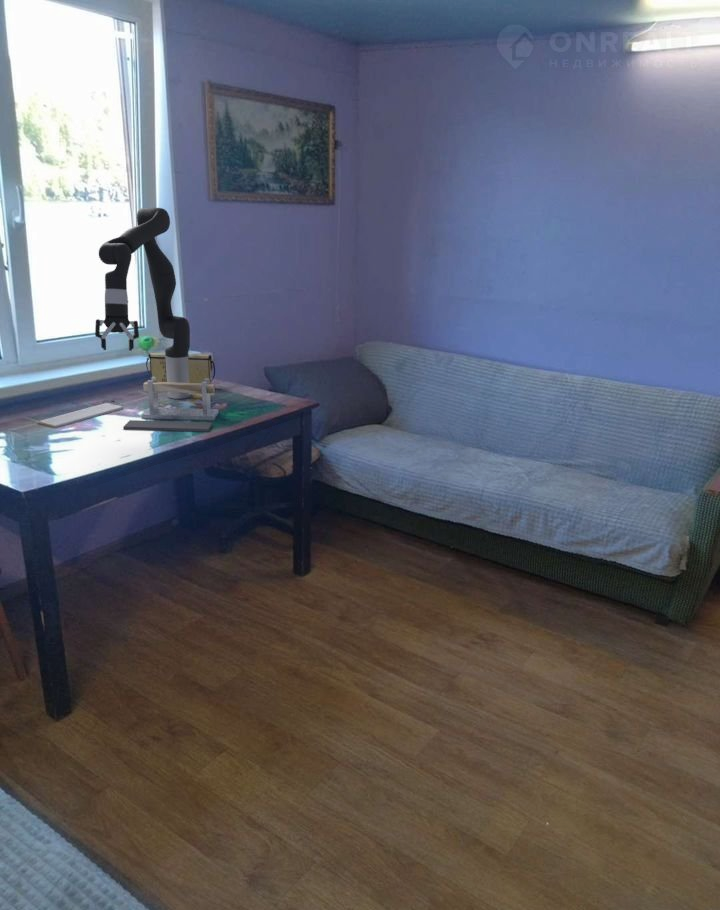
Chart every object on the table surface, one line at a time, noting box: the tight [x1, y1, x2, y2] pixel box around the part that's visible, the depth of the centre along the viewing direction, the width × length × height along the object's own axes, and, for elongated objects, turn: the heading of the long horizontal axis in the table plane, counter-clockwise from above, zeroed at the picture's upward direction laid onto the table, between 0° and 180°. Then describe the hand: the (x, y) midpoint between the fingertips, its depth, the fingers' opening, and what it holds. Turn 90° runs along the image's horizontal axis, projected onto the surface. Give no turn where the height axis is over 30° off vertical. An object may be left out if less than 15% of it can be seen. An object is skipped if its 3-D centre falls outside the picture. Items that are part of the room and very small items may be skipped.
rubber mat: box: [123, 419, 213, 433], centre depth 253 cm, size 8×30×1 cm, turn 91°
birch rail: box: [142, 381, 216, 394], centre depth 264 cm, size 3×26×3 cm, turn 91°
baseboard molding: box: [36, 399, 124, 429], centre depth 264 cm, size 31×3×12 cm
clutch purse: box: [145, 352, 216, 384], centre depth 307 cm, size 30×7×15 cm, turn 91°
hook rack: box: [140, 377, 219, 421], centre depth 265 cm, size 10×27×14 cm, turn 91°
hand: (117, 350), depth 245 cm, fingers open, 8 cm apart
